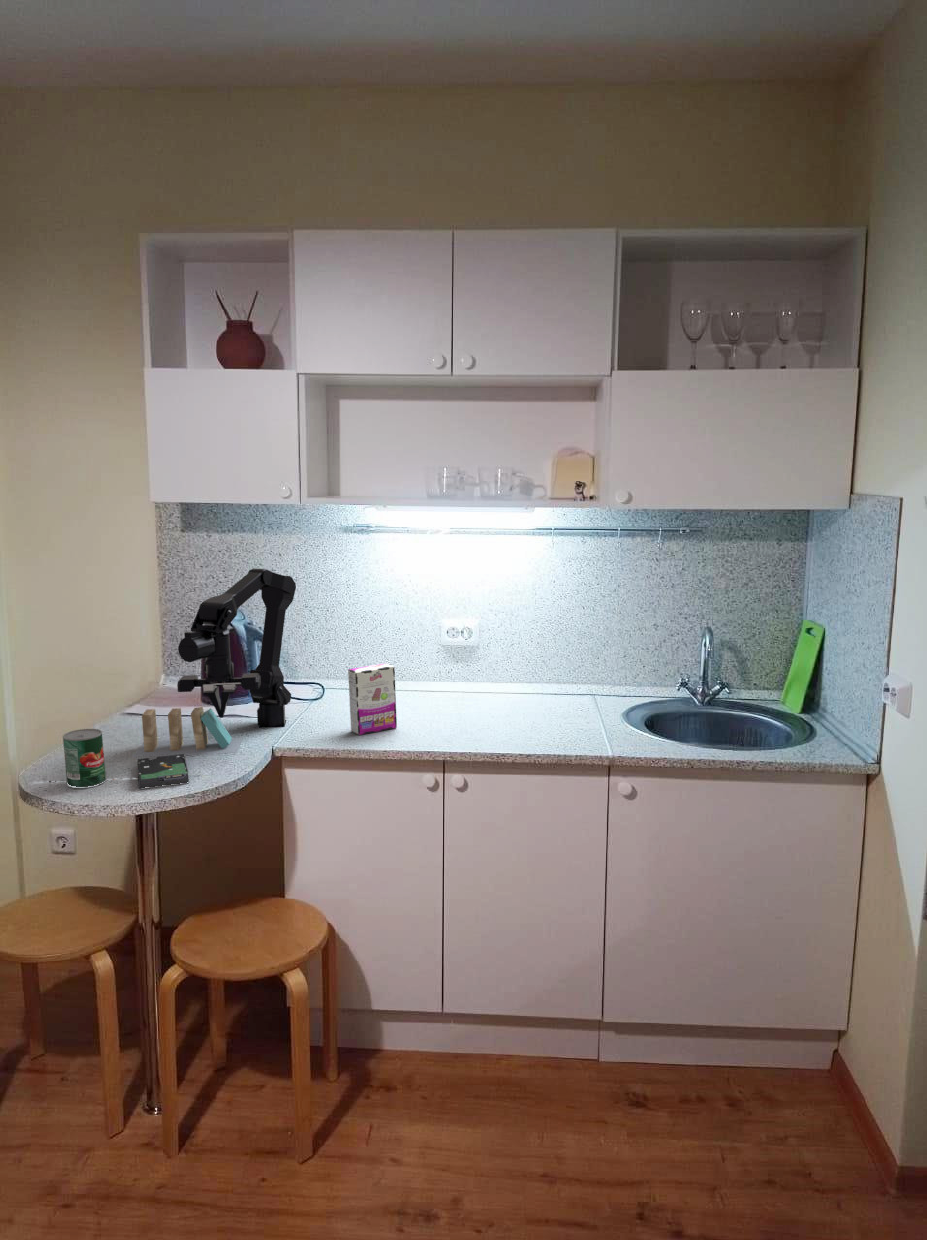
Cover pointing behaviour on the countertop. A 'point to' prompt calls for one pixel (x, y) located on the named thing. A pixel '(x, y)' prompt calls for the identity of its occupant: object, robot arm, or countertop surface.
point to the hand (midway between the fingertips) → (221, 717)
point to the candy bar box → (372, 698)
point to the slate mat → (190, 748)
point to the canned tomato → (84, 757)
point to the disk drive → (162, 771)
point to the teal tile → (216, 728)
